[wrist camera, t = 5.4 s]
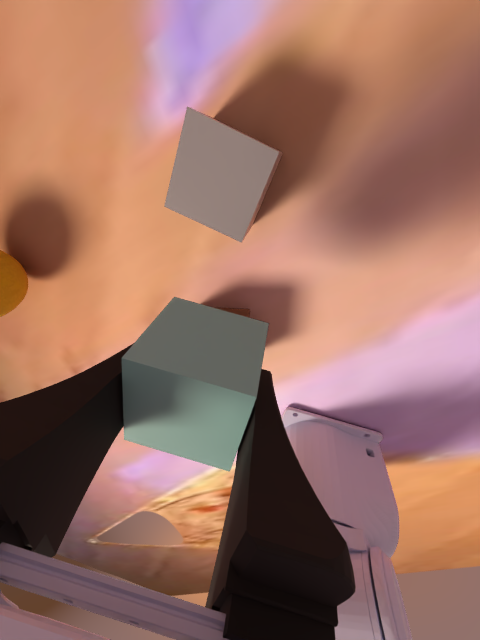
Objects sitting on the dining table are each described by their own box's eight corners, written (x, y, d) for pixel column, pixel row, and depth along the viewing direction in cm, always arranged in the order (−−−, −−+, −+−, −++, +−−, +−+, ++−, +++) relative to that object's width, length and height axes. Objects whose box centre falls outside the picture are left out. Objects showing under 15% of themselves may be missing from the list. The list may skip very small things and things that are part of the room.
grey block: (283, 152, 16) (279, 152, 12) (252, 224, 19) (241, 242, 15) (213, 118, 16) (187, 106, 12) (191, 195, 18) (164, 206, 14)
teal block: (268, 323, 12) (256, 397, 9) (246, 390, 15) (229, 471, 11) (174, 296, 13) (121, 358, 9) (167, 367, 15) (124, 439, 11)
